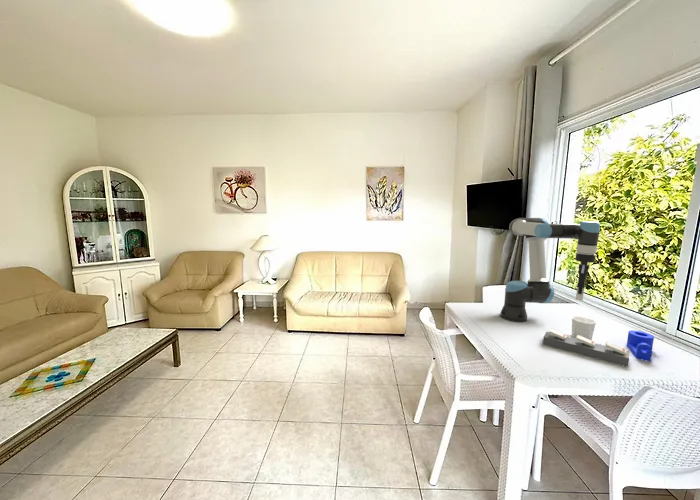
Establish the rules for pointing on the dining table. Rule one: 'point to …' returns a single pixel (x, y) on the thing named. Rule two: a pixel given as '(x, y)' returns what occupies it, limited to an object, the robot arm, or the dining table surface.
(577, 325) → the cup
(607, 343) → the rocker
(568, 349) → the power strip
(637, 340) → the bracket
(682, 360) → the dining table surface
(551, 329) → the rocker
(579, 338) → the rocker
